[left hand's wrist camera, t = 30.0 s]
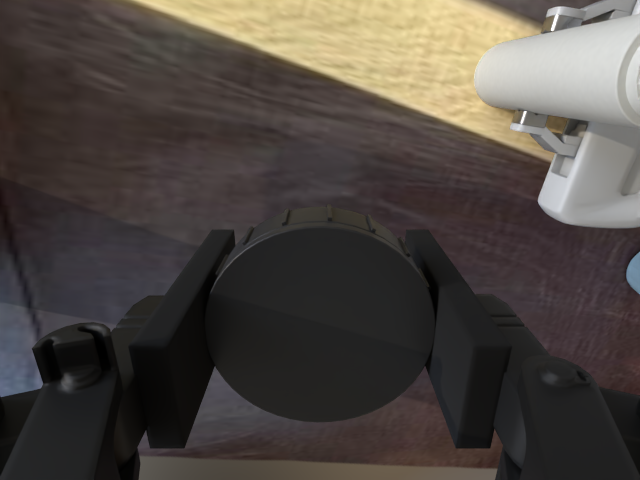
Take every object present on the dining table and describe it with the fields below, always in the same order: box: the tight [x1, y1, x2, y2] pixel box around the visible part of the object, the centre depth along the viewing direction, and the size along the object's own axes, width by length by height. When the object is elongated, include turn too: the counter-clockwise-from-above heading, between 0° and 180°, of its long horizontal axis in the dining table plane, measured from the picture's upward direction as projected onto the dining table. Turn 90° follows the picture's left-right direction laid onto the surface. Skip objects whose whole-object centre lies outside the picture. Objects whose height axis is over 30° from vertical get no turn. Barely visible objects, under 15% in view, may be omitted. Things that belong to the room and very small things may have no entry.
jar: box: [474, 14, 640, 129], centre depth 25 cm, size 5×5×19 cm
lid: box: [204, 205, 436, 422], centre depth 11 cm, size 6×6×2 cm
